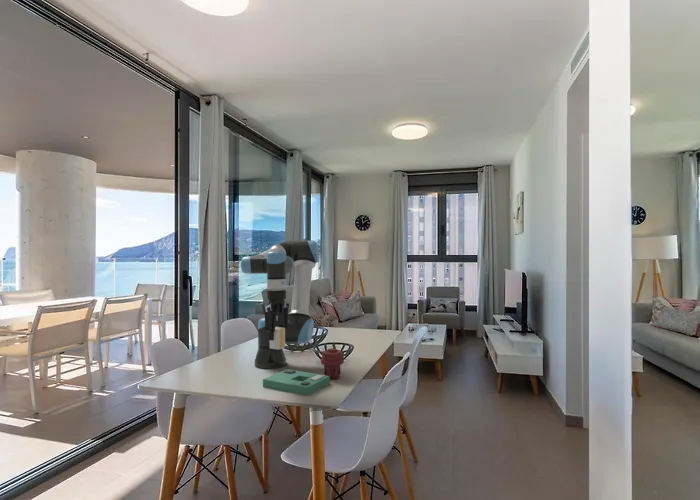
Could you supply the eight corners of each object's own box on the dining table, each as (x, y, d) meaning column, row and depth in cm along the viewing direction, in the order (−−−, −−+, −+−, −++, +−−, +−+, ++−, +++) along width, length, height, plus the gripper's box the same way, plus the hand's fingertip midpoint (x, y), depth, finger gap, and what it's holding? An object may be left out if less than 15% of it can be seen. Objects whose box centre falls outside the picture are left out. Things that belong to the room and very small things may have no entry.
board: (262, 386, 161) (262, 377, 161) (287, 375, 175) (287, 367, 175) (307, 395, 151) (307, 386, 151) (329, 383, 165) (329, 374, 165)
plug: (269, 348, 161) (269, 328, 161) (276, 346, 165) (276, 326, 165) (278, 349, 159) (278, 329, 159) (285, 347, 163) (285, 327, 163)
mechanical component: (320, 381, 167) (320, 374, 177) (344, 381, 168) (343, 373, 178) (320, 352, 167) (320, 346, 177) (344, 351, 168) (342, 346, 178)
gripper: (269, 291, 153) (270, 352, 152) (297, 288, 168) (297, 343, 168) (254, 291, 156) (255, 350, 156) (282, 287, 171) (283, 341, 171)
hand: (277, 346), depth 162 cm, fingers closed on plug, 4 cm apart
